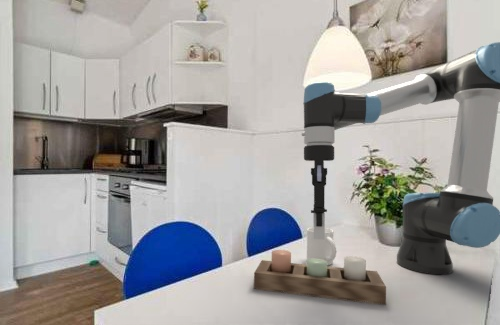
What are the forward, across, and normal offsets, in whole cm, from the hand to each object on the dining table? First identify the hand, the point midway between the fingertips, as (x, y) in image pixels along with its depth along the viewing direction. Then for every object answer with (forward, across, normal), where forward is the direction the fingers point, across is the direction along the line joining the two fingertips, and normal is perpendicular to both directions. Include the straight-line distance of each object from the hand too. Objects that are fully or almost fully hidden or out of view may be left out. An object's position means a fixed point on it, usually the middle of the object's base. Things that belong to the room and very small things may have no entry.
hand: (319, 238), depth 72 cm
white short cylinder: (+9, 0, +8) cm, 12 cm away
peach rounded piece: (+9, 0, -10) cm, 13 cm away
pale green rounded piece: (+10, 0, -1) cm, 10 cm away
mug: (+13, -20, +1) cm, 24 cm away
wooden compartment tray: (+12, 0, -1) cm, 12 cm away
